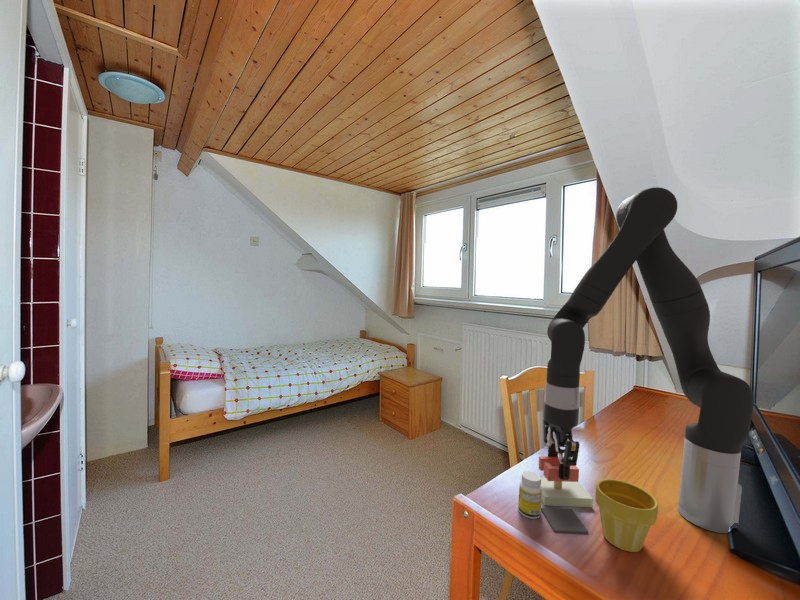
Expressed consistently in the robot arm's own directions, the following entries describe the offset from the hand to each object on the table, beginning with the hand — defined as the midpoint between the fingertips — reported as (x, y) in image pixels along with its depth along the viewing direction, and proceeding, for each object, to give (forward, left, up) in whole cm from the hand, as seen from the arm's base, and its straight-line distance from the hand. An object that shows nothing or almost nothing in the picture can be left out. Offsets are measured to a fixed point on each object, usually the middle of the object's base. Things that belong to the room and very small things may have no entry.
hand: (557, 471), depth 83 cm
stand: (-1, 0, -6) cm, 6 cm away
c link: (0, 0, -1) cm, 1 cm away
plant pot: (-7, +14, -6) cm, 17 cm away
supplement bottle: (+9, +7, -6) cm, 13 cm away
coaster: (+2, +9, -6) cm, 11 cm away
